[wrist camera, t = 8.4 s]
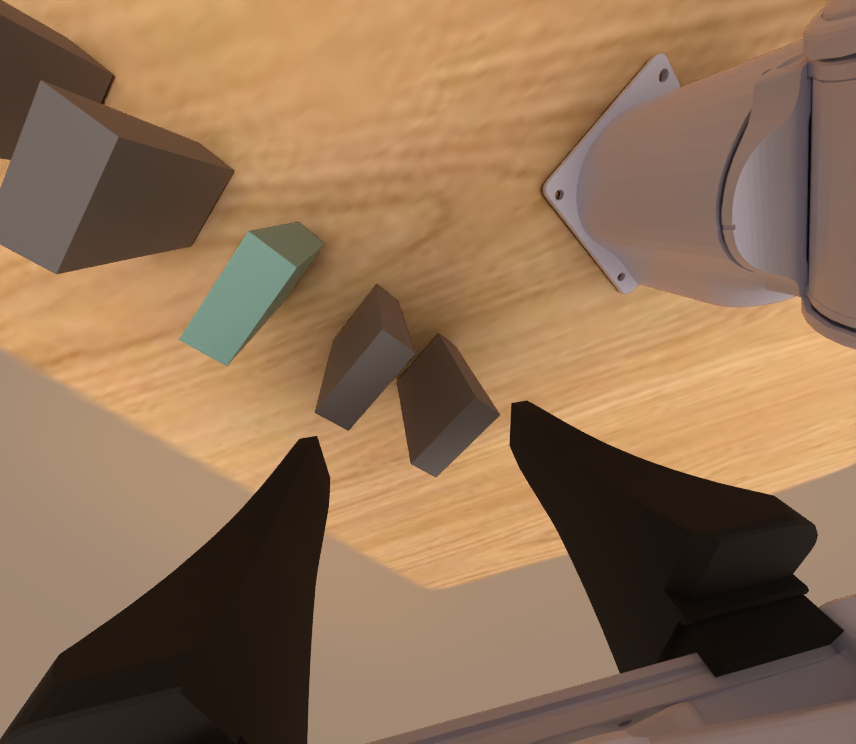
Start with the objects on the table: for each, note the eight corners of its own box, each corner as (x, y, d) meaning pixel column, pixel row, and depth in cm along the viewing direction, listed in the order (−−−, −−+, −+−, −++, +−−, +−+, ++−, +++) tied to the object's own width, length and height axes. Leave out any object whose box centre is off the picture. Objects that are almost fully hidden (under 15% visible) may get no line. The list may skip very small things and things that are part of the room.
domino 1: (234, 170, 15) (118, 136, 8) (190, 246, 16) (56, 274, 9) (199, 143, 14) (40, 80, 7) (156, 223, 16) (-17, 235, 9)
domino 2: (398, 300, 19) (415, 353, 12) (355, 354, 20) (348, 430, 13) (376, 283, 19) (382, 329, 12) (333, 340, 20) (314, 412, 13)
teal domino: (325, 243, 17) (296, 267, 10) (280, 305, 18) (226, 366, 11) (298, 221, 16) (248, 231, 9) (253, 287, 18) (178, 339, 11)
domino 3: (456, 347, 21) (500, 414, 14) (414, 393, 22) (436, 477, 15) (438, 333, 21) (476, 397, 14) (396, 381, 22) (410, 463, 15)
